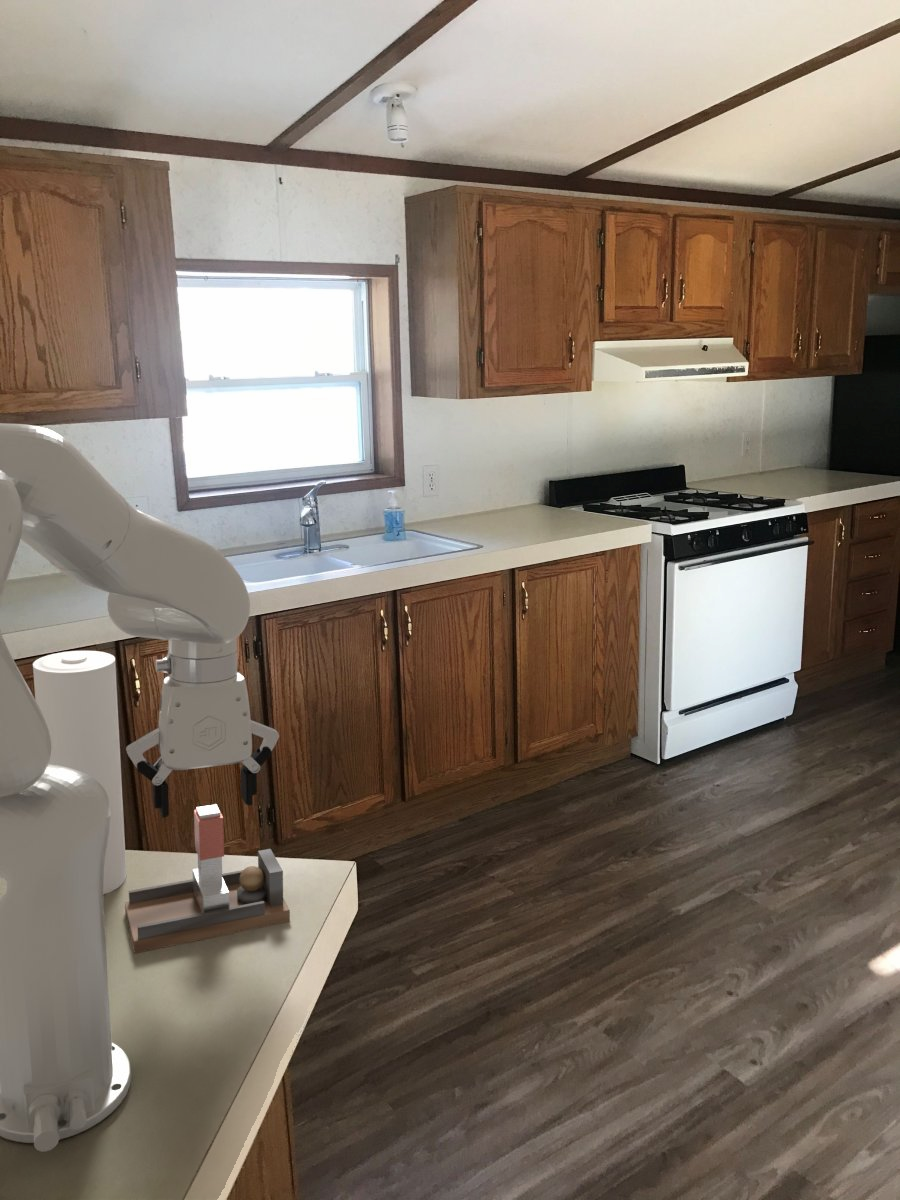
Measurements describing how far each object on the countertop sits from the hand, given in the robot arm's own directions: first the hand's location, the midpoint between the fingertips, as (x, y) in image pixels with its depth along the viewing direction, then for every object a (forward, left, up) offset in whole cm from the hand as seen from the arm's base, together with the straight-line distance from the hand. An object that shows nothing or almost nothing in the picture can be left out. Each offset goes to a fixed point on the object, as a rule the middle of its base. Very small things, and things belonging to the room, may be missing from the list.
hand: (205, 806), depth 114 cm
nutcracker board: (0, 0, -15) cm, 15 cm away
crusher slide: (0, 0, -13) cm, 13 cm away
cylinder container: (+15, +13, -15) cm, 25 cm away
